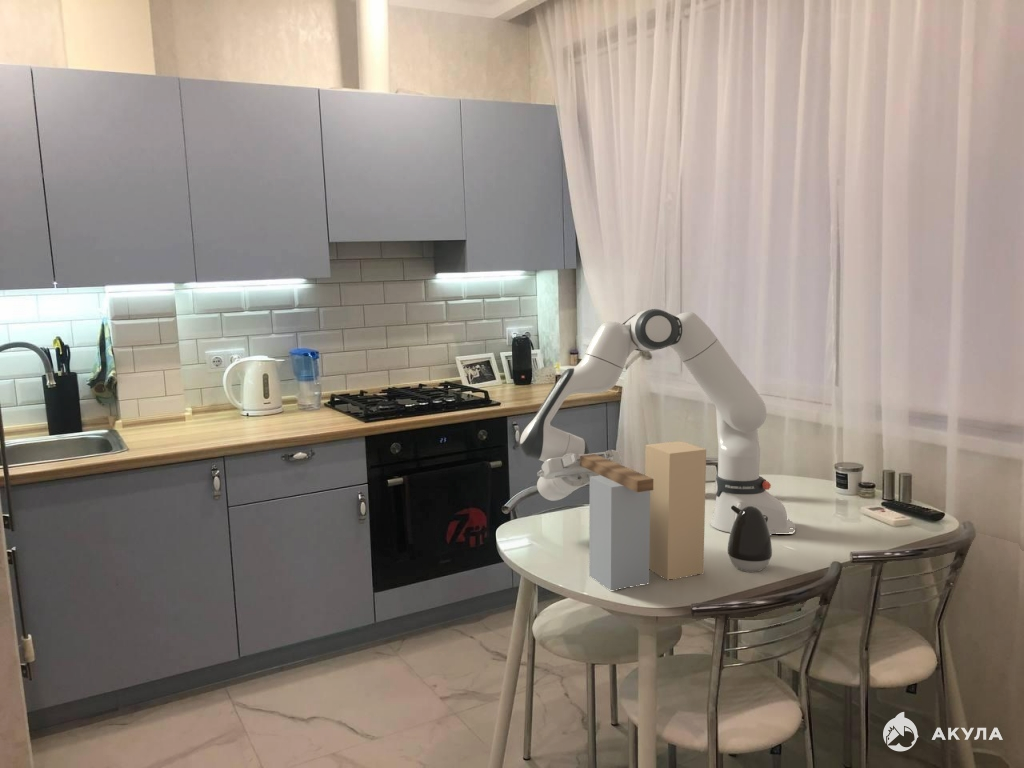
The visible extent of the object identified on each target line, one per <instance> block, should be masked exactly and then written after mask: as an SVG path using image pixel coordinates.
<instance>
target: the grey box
mask: <svg viewBox="0 0 1024 768" xmlns="http://www.w3.org/2000/svg"><path fill="white" fill-rule="evenodd" d="M588 528H589V534H588V535H589V536H588V537H589V539H588V540H589V541H588V542H589V543H588V544H589V545H588V546H589V555H588V556H589V557H588V558H589V561H588V562H589V567H588V568H589V569H588V570H589V571H588V572H589V575H588V576H589V577H590V576H591V577H592V579H593V578H594V579H596V580H597V581H598V582H600V583H601V584H602V585H601V584H600V583H599V584H600V585H601V586H603V585H604V586H605V587H607V588H608V589H610V590H616V589H619V588H624V587H630V586H636V585H640V584H647V583H649V584H650V570H649V546H650V491H643V492H636V491H634V490H632V489H629V488H627V487H625V486H623V485H621V484H619V483H616V482H614V481H612V480H610V479H608V478H606V477H604V476H601V475H599V476H591V477H590V483H589V527H588ZM591 577H590V578H591ZM594 579H593V580H594ZM596 580H595V581H596ZM597 581H596V582H597ZM598 582H597V583H598ZM647 585H648V584H647ZM604 586H603V587H604ZM605 587H604V588H605ZM607 588H606V589H607ZM608 589H607V590H608ZM610 590H609V591H610ZM616 591H617V590H616Z"/></svg>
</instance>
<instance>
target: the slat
mask: <svg viewBox="0 0 1024 768" xmlns="http://www.w3.org/2000/svg"><path fill="white" fill-rule="evenodd" d="M590 454H591V455H582V456H580V466H582V467H584V468H586V469H589V470H591V471H593V472H595V473H597V474H599V475H601V476H604V477H606V478H608V479H610V480H612V481H614V482H616V483H619V484H621V485H623V486H625V487H627V488H629V489H632V490H634V491H636V492H643V491H650V490H653V478H650V477H648V476H646V475H645V474H643V473H641V472H639V471H636V470H634V469H631V468H629V467H626V466H625V465H622V464H621V465H620V464H617V463H615V462H613V461H610V460H608V459H605V458H603V457H601V456H598V455H596V454H593V453H590Z"/></svg>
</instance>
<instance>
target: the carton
mask: <svg viewBox="0 0 1024 768" xmlns="http://www.w3.org/2000/svg"><path fill="white" fill-rule="evenodd" d="M644 450H645V452H644V455H645V459H644V460H645V465H644V466H645V467H644V468H645V470H644V475H646V476H648V477H650V478H653V490H650V546H649V569H650V570H649V571H651V570H652V571H651V572H653V573H654V572H655V573H654V574H656V575H658V576H659V575H660V577H661V576H662V577H664V578H665V579H664V578H663V579H664V580H666V579H667V580H668V581H670V580H669V579H673V580H676V579H675V578H679V579H681V578H680V577H684V578H687V577H686V576H689V577H692V576H691V575H694V576H698V575H697V574H700V575H703V574H704V566H705V565H704V563H705V562H704V561H705V557H704V555H705V521H706V520H705V518H706V516H705V515H706V478H707V477H706V474H707V473H706V472H707V449H706V448H704V447H700V446H697V445H694V444H691V443H688V442H685V441H682V440H678V441H676V440H675V441H670V442H669V441H668V442H660V443H659V442H658V443H651V444H645V449H644ZM702 573H703V574H702ZM662 577H661V578H662ZM667 580H666V581H667Z"/></svg>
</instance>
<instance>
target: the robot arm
mask: <svg viewBox="0 0 1024 768" xmlns="http://www.w3.org/2000/svg"><path fill="white" fill-rule="evenodd" d="M668 347H670V348H671V349H673V350H674V351H675V352H676V354H677V355H678V357H679V358H680V360H681V361H682V362H683V364H684V366H685V367H686V368H687V370H688V371H689V372H690V374H691V375H692V377H693V378H694V379H695V381H696V383H697V384H698V385H699V386H700V388H701V389H702V391H703V392H704V393H705V394H706V397H708V398H709V400H710V402H712V404H713V405H714V407H715V408H716V409H715V411H716V412H715V413H716V431H717V432H716V433H717V434H716V435H717V447H718V449H717V451H718V453H717V454H718V456H717V474H716V477H715V486H714V487H715V489H714V490H715V495H716V496H715V503H714V504H715V505H714V509H713V514H712V517H711V520H710V522H709V524H710V525H711V527H712V528H714V529H716V530H719V531H721V532H726V533H729V534H730V533H731V529H732V526H733V524H734V521H735V519H736V517H737V515H738V514H737V513H735V512H734V511H733V510H732V509H731V507H732V506H733V505H734V506H735V507H737V508H739V509H740V510H742V509H743V508H745V507H748V506H752V507H756V508H757V509H759V510H760V511H761V513H762V514H763V516H764V518H765V520H766V523H767V526H768V529H769V533H770V534H776V533H789V532H793V531H794V530H795V528H796V525H795V523H794V522H793V521H792V520H791V519H789V518H788V515H787V509H786V507H785V505H784V504H783V502H781V500H779V499H778V498H776V497H775V496H774V495H773V494H771V493H770V492H769V491H768V490H770V489H771V487H772V485H771V483H770V481H768V480H767V479H765V478H764V477H763V476H760V461H761V460H760V459H761V457H760V456H761V447H760V441H759V433H758V430H759V428H761V427H762V426H763V425H764V424H765V422H766V418H767V406H766V403H765V401H764V400H763V398H762V397H761V395H760V394H759V393H758V391H757V390H756V389H755V388H754V386H753V385H752V383H751V382H750V381H749V379H748V378H747V377H746V375H745V374H744V373H743V372H742V371H741V369H740V368H739V367H738V365H737V363H735V361H734V360H733V358H732V357H731V355H730V354H729V352H727V350H726V348H724V346H723V344H722V343H721V341H720V340H719V338H718V337H717V336H716V334H715V333H714V332H713V331H712V329H711V328H710V327H709V326H708V324H707V323H705V321H703V319H702V318H701V317H700V316H699V315H697V314H696V313H694V312H692V311H685V312H684V311H683V312H681V313H678V314H676V315H673V314H671V313H669V312H667V311H665V310H664V309H659V308H651V309H644V310H641V311H639V312H637V313H635V314H633V315H632V316H630V317H629V318H628V319H626V320H625V321H624V322H623V323H621V322H616V321H606V322H604V323H602V324H601V325H600V326H599V327H598V329H597V330H596V331H595V333H594V335H593V337H592V338H591V339H590V342H589V344H588V346H587V348H586V350H585V352H584V355H583V356H582V358H581V360H580V361H579V362H578V364H576V365H575V366H574V367H572V368H567V369H566V370H564V372H563V373H562V374H561V375H560V376H559V378H557V381H556V382H555V384H554V385H553V386H552V387H551V389H550V391H549V392H548V394H547V396H546V397H545V399H544V401H542V404H541V405H540V407H539V409H538V410H537V412H536V413H535V415H533V417H532V419H531V420H530V422H529V423H528V424H527V426H526V427H525V428H524V430H523V431H522V433H521V436H520V439H519V446H520V449H521V451H522V452H523V455H524V456H525V457H527V458H530V459H533V460H537V461H542V462H543V463H542V464H541V469H540V470H539V471H537V473H536V475H537V477H539V478H538V480H537V482H536V488H537V490H538V491H537V492H538V493H539V494H540V496H542V497H543V498H544V499H546V500H548V501H552V502H553V501H559V500H563V499H564V498H566V497H567V496H570V494H572V493H573V492H574V491H576V490H578V489H579V488H582V487H585V486H587V485H590V477H591V476H599V474H597V473H595V472H593V471H591V470H589V469H586V468H584V467H582V466H580V456H582V455H591V454H596V455H598V456H601V457H603V458H605V459H608V460H610V461H613V462H615V463H617V464H620V465H622V457H621V454H620V452H619V451H618V450H614V449H608V450H606V451H602V452H595V453H590V451H589V447H588V444H587V442H586V440H585V439H584V438H583V437H580V436H578V435H575V434H573V433H570V432H567V431H565V430H562V429H560V428H557V427H555V426H552V425H551V422H552V421H553V418H554V417H555V415H556V414H557V413H558V410H560V408H561V406H562V405H563V403H564V401H565V400H566V399H567V398H568V397H570V396H572V395H576V394H601V393H606V392H608V391H609V390H611V389H613V388H614V387H616V384H617V383H618V381H619V379H620V377H621V374H622V373H623V370H624V368H625V365H626V363H627V360H628V358H629V357H630V355H631V354H632V353H633V352H634V351H638V352H654V351H658V350H662V349H664V348H668ZM787 518H788V520H787ZM790 520H791V521H790ZM790 528H793V529H790Z"/></svg>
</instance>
